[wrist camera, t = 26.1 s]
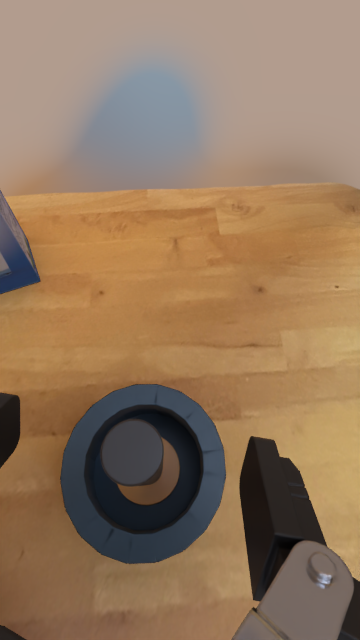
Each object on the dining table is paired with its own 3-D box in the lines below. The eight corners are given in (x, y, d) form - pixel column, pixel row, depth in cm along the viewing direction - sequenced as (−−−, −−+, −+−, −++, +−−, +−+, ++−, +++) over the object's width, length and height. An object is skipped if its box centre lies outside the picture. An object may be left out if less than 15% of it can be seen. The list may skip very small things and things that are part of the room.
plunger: (177, 439, 29) (197, 382, 13) (178, 502, 27) (204, 530, 10) (121, 440, 28) (70, 383, 12) (118, 503, 26) (51, 535, 10)
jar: (203, 409, 31) (219, 383, 23) (210, 536, 26) (232, 560, 18) (95, 410, 30) (71, 384, 22) (83, 540, 26) (48, 567, 18)
